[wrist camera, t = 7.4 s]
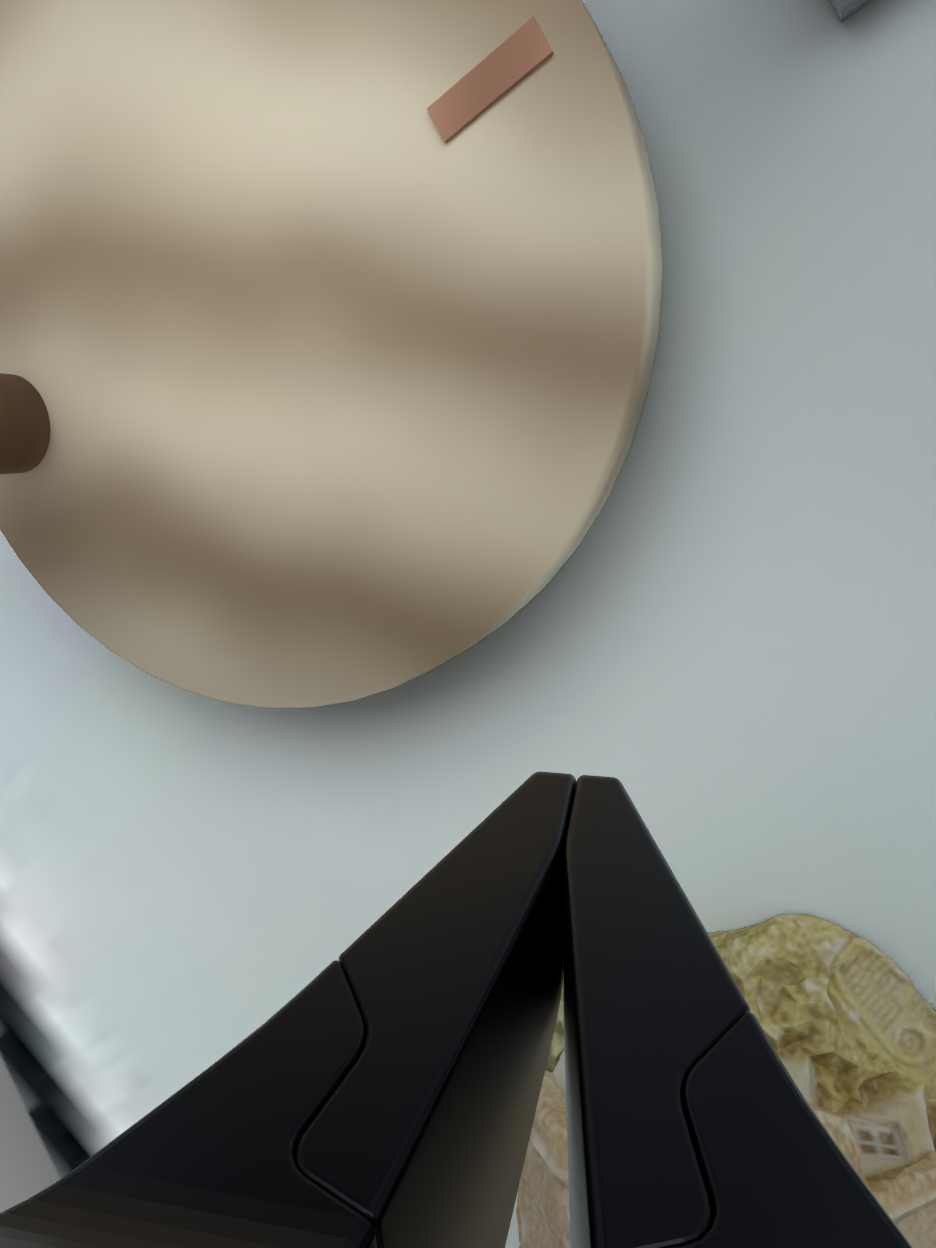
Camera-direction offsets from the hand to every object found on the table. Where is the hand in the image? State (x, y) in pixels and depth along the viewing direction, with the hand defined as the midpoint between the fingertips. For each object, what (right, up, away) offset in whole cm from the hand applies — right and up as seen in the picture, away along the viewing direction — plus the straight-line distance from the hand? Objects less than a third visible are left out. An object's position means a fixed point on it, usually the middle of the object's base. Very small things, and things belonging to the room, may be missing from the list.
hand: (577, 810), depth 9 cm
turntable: (-6, +9, +12) cm, 16 cm away
